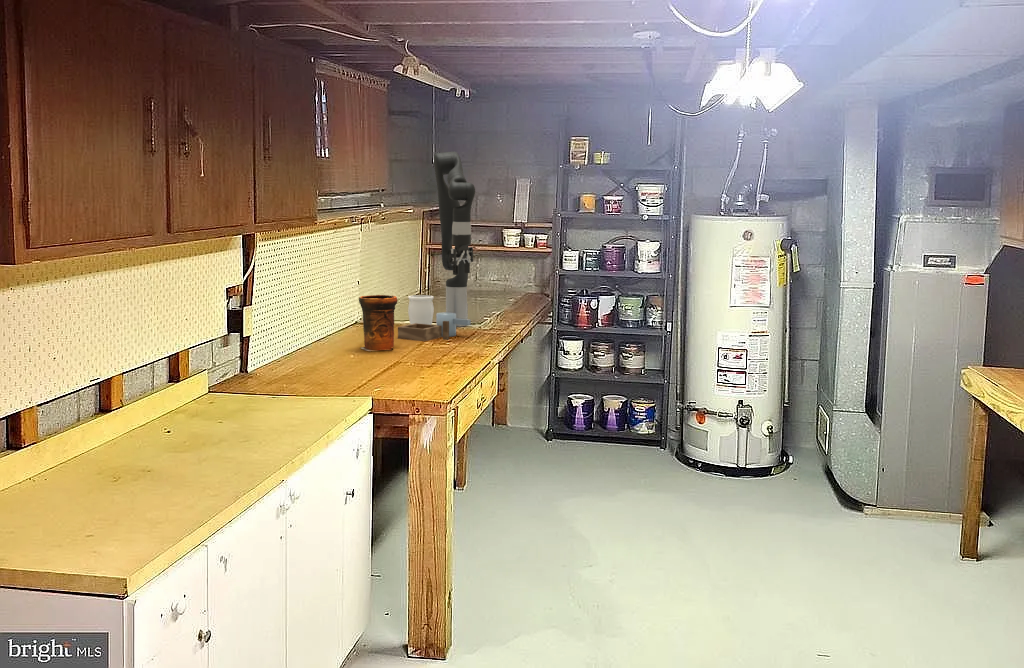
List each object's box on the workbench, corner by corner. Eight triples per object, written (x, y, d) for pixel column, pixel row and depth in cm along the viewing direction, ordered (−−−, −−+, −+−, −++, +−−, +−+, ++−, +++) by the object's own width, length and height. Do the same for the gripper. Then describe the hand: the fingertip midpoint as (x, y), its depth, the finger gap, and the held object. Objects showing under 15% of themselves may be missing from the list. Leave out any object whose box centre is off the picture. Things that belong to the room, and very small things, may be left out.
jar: (435, 330, 420) (435, 295, 418) (431, 333, 410) (431, 298, 408) (411, 329, 421) (410, 294, 419) (406, 333, 411) (405, 297, 409)
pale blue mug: (432, 335, 401) (432, 313, 400) (443, 333, 408) (443, 311, 407) (463, 338, 394) (463, 316, 393) (474, 336, 401) (474, 314, 399)
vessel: (365, 352, 364) (365, 298, 361) (354, 347, 377) (354, 295, 374) (403, 350, 370) (402, 297, 368) (391, 345, 383) (390, 294, 380)
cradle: (415, 335, 405) (415, 316, 404) (454, 339, 396) (454, 320, 395) (396, 340, 393) (395, 320, 392) (435, 344, 384) (435, 324, 383)
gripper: (463, 232, 401) (462, 272, 403) (443, 233, 388) (443, 274, 391) (478, 232, 397) (478, 273, 400) (460, 234, 385) (459, 276, 387)
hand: (461, 274), depth 395 cm, fingers open, 8 cm apart
